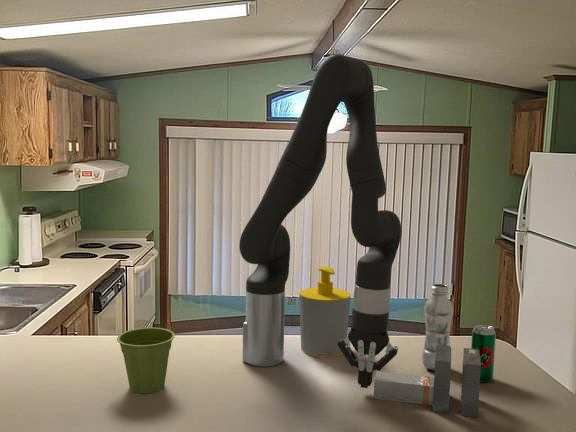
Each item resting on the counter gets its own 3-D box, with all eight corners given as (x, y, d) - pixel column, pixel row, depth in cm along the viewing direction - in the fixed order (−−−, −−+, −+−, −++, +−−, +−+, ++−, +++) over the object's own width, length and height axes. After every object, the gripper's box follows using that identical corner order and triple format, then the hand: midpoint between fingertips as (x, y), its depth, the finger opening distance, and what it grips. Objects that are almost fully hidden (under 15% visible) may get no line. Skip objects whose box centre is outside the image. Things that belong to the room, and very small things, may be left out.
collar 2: (461, 415, 117) (464, 358, 116) (461, 396, 126) (464, 343, 125) (477, 417, 117) (481, 360, 115) (476, 398, 126) (479, 344, 124)
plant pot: (123, 376, 133) (122, 327, 132) (177, 376, 135) (177, 327, 133) (112, 399, 122) (111, 345, 120) (172, 398, 123) (171, 344, 122)
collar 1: (432, 411, 119) (435, 360, 118) (434, 392, 128) (436, 345, 127) (448, 413, 118) (451, 362, 117) (448, 394, 127) (451, 346, 126)
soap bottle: (314, 361, 145) (316, 275, 142) (289, 345, 156) (290, 265, 154) (359, 353, 151) (362, 270, 148) (332, 338, 162) (334, 261, 160)
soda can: (497, 380, 135) (501, 328, 134) (482, 385, 133) (485, 332, 131) (480, 373, 140) (483, 322, 138) (464, 377, 137) (467, 325, 136)
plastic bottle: (451, 375, 138) (456, 290, 135) (421, 372, 139) (425, 288, 137) (450, 365, 144) (454, 283, 142) (421, 363, 145) (424, 281, 143)
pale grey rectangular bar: (373, 398, 124) (374, 380, 124) (375, 389, 129) (376, 371, 129) (448, 407, 121) (449, 388, 120) (448, 397, 126) (449, 379, 125)
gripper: (335, 307, 122) (330, 388, 125) (401, 316, 119) (394, 399, 121) (342, 298, 129) (337, 374, 132) (404, 306, 126) (398, 384, 129)
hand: (364, 386), depth 127 cm, fingers closed
